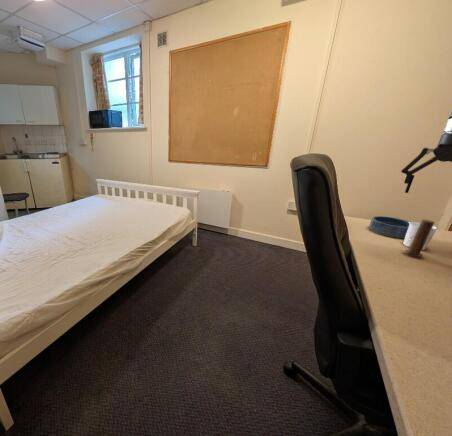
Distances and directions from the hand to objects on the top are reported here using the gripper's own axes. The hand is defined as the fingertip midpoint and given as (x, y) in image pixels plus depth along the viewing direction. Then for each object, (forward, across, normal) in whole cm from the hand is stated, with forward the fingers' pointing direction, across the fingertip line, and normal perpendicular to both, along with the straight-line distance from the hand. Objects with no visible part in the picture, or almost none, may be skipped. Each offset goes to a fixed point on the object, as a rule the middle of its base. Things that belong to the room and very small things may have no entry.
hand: (433, 195), depth 80 cm
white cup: (+26, +2, +16) cm, 30 cm away
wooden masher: (+26, +2, +4) cm, 26 cm away
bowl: (+26, -6, +28) cm, 39 cm away
